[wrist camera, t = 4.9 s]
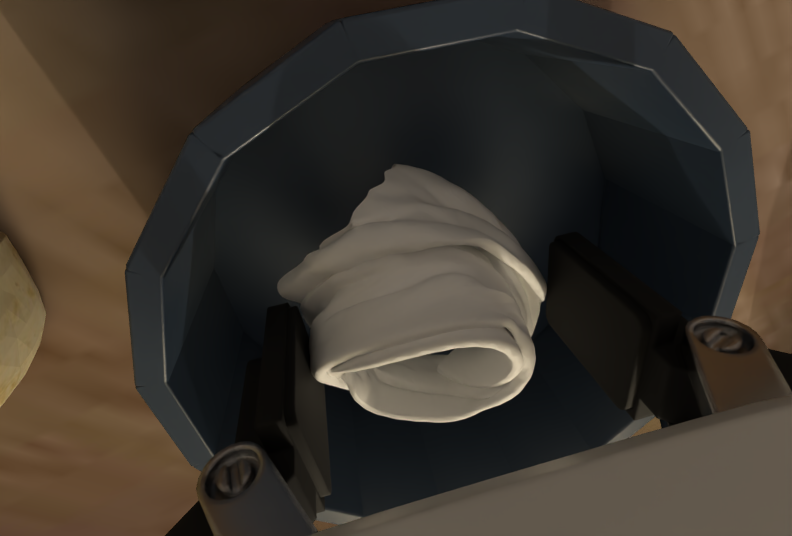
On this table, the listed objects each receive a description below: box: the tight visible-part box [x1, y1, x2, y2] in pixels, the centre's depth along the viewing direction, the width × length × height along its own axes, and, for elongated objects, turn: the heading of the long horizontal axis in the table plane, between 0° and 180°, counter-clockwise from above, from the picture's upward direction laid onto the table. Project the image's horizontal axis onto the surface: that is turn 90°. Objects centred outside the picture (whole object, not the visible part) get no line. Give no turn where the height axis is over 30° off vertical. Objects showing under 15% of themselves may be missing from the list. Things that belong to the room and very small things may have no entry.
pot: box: [125, 0, 760, 525], centre depth 13 cm, size 16×16×6 cm
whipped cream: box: [277, 164, 547, 423], centre depth 11 cm, size 8×7×5 cm
